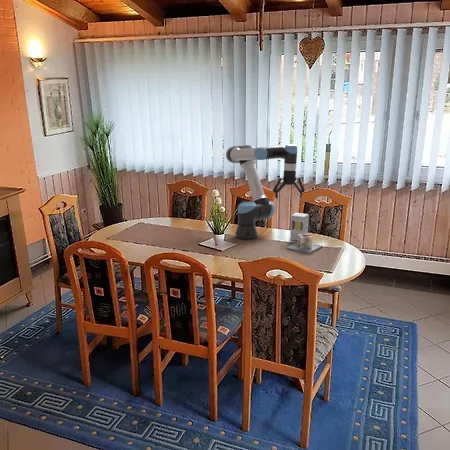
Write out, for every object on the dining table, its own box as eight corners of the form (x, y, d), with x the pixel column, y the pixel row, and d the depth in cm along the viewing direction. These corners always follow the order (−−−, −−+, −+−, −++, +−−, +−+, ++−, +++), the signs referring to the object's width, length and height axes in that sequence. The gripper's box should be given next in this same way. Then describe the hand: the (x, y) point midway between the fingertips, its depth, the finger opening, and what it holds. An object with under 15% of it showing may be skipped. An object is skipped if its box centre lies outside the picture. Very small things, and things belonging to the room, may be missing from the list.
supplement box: (289, 239, 307) (290, 215, 303) (294, 236, 315) (295, 212, 310) (303, 241, 303) (304, 216, 298) (308, 238, 311) (309, 213, 306)
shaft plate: (286, 249, 288) (286, 239, 286) (299, 242, 301) (300, 233, 299) (309, 254, 278) (310, 244, 277) (322, 247, 291) (322, 237, 290)
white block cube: (300, 248, 286) (301, 236, 284) (297, 244, 292) (297, 233, 290) (311, 247, 286) (312, 236, 284) (308, 244, 293) (308, 233, 291)
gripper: (271, 171, 281) (270, 204, 287) (311, 170, 284) (308, 204, 291) (268, 168, 288) (267, 201, 294) (307, 168, 291) (305, 201, 298)
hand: (288, 202), depth 293 cm, fingers open, 13 cm apart
